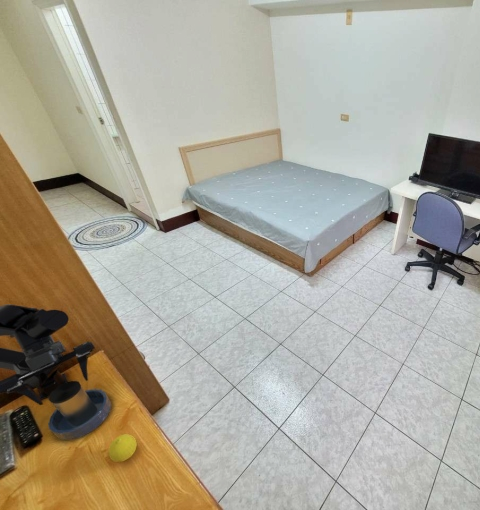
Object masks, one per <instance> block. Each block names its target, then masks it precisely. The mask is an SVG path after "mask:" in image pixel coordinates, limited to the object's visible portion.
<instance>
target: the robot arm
mask: <svg viewBox="0 0 480 510" xmlns="http://www.w3.org/2000/svg"><path fill="white" fill-rule="evenodd" d="M68 323H69V316H68V314H67V313H66V312H65V311H63V310H58V309H48V310H46V309H44V308H40V309H38V308H37V307H27V306H23V305H18V304H17V305H16V304H3V305H0V337H3V336H4V337H5V336H9V338H10V339H13V338H14V339H15V340H16V342H17V343H18V346H19V347H20V349H21V350H22V351H19V350H15V349H9V348H4V347H0V369H5V370H10V371H14V372H15V374H13V375H10V376H8V377H6V378H3V379H2V380H0V395H2V394H5V393H7V394H12V393H13V394H14V393H17V394H20V395H23V396H25V397H26V398H29V400H31V401H33V402H35V403H36V404H38V405H39V406H43V405H44V403H43V400H45V399H48V398H49V396H50V394H51V392H52V391H53V390H54V389H55V388H57V387H58V386H60V385H62V384H64V383H66V382H69V381H68V378H67V375H66V373H61V372H60V371H59V368H60V367H61V366H63V365H64V363H65V362H68V361H69V360H71V359H75V358H76V361H77V363H78V365H79V368H80V371H81V374H82V377H83V379H84V380H85V382H88V381H89V375H88V359H89V357H91V356H92V355H93V353H92V352H94V351H96V347H95V346H94V343H93V342H92V341H86V342H83V343H81V344H79V345H77V346H74V347H73V348H72V351H70V352H68V353H66V348H65V346H64V344H63V343H62V341H61V339H60V340H56V341H54V339H53V336H52V335H54V334H55V333H57V332H58V331H60V330H61V329H62V328H64V327H66V326H67V324H68ZM63 353H65V354H64V355H63ZM35 389H36V390H37V392H38V394H37V392H36V391H35Z"/></svg>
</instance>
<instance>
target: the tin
mask: <svg viewBox="0 0 480 510" xmlns="http://www.w3.org/2000/svg"><path fill="white" fill-rule="evenodd" d="M85 391H86V390H85V389H84V387H83V386H82V384H81V383H80V382H79V380H69V381H68V382H66V383H64V384H62V385H60V386H58V387H57V388H55V389H54V390H53V391H52V392H51V394H50V396H49V397H48V401H49V402H50V404H52V405H53V406H54V407H55V409H58V410H59V412H60V413H61V414H62V415H63V416H64V417H65V419H66V420H67V421H68V422H69V423H70V424H71V425H72V426H80V425H82V424H84V423H85V422H87V421H89V420H90V419H91V418H92V417H93V416H94V415H95V414H96V412H97V408H96V406H95V405H94V403H93V402H92V400H91V399H90V398H89V396H88V395H87V393H86V392H85Z"/></svg>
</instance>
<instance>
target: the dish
mask: <svg viewBox="0 0 480 510" xmlns="http://www.w3.org/2000/svg"><path fill="white" fill-rule="evenodd" d="M84 391H85V392H86V393H87V395H88V396H89V398H90V399H91V400H92V402H93V403H94V405H95V406H96V408H97V412H96V414H95V415H94V416H93V417H92V418H91V419H90V420H89V421H87V422H85V423H84V424H82V425H80V426H72V425H71V424H70V423H69V422H68V421H67V420H66V419H65V417H64V416H63V415H62V414H61V413H60V412H59V410H58V409H57V408H55V409H54V411H53V412H52V413H51V416H50V417H49V421H48V429H49V430H50V431H51V432H52V434H54V436H55V437H57V439H60V440H63V441H72V440H76V439H80V438H83V437H84V436H86V435H88V434H89V433H91V432H93V431H95V429H97V428H98V427H99V426H100V425H101V424H102V423H103V422H104V421H105V420H106V419H107V417H108V416H109V414H110V412H111V409H112V402H111V400H110V398H109V396H108V394H107V393H106V392H105V391H104V390H102V389H99V388H98V389H97V388H92V389H86V390H84Z"/></svg>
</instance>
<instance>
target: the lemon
mask: <svg viewBox="0 0 480 510" xmlns="http://www.w3.org/2000/svg"><path fill="white" fill-rule="evenodd" d="M137 444H138V443H137V440H136V438H135V436H133V435H131V434H128V433H125V434H124V433H123V434H120V435H119V436H117V437H115V438H114V439H113V440H112V441H111V443H110V445H109V447H108V456H109V458H110V459H111V460H112V461H113V462H116V463H121V462H124V461H127V460H129V459H130V458H131V457H132V456H133V454H134V453H135V452H136V449H137Z"/></svg>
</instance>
